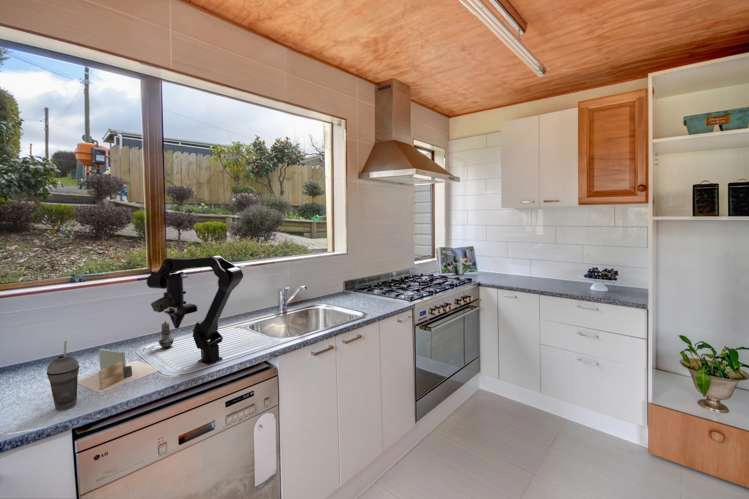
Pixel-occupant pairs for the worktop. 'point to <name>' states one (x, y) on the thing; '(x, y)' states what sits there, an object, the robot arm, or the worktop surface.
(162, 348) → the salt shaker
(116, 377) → the tan dark-tipped bar
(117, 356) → the fence panel
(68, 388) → the beverage cup
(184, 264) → the robot arm
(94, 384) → the card
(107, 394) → the worktop surface
